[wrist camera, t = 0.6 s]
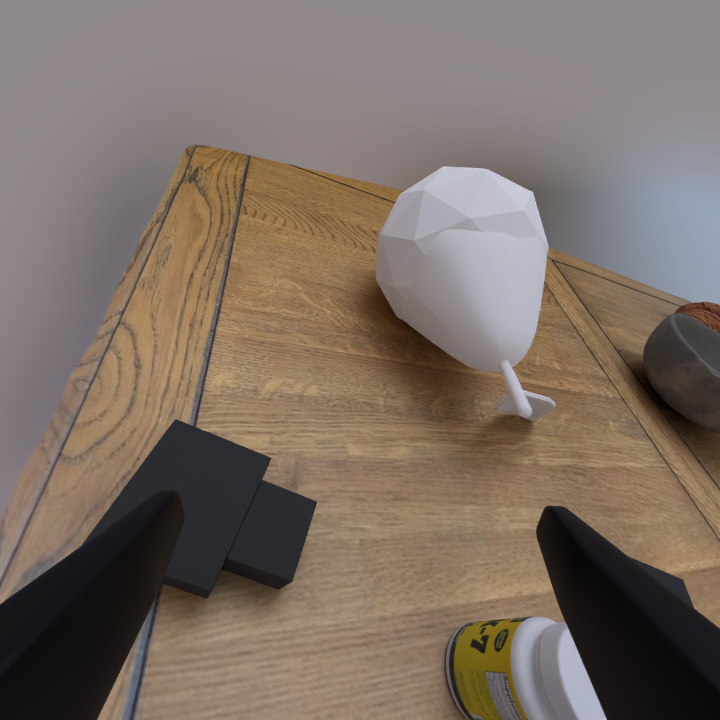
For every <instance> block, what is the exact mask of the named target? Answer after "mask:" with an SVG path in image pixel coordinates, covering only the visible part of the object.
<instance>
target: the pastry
mask: <svg viewBox="0 0 720 720" xmlns="http://www.w3.org/2000/svg"><path fill="white" fill-rule="evenodd" d="M675 313H682V314H686V315H688V316H690V317H692V318H695V319H696V320H698V321H700V322H702V323H703V324H705V325H707V326H708V327H710V328H712V329H713V330H715V331H717V332H718V333H720V305H718V304H714V303H709V302H701V303H690V304H686V305H683V306H681V307H680V308H678V309H677V310H676V312H675Z"/></svg>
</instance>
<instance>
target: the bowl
mask: <svg viewBox="0 0 720 720" xmlns="http://www.w3.org/2000/svg"><path fill="white" fill-rule="evenodd" d="M643 362H644V368H645V371H646V374H647V377H648V379H649V381H650V383H651V385H652V387H653V388H654V390H655V391H656V392H657V394H658V395H659V396H660V397H661V398H662V400H663V401H664V402H665V403H667V404H668V405H669V406H670V407H671V408H673V409H674V410H675V411H677V412H678V413H679V414H681V415H682V416H684V417H686V418H687V419H689V420H691V421H693V422H694V423H696V424H698V425H700V426H702V427H705V428H707V429H709V430H711V431H714V432H716V433H719V434H720V333H718V332H717V331H715V330H713V329H712V328H710V327H708V326H707V325H705V324H703V323H702V322H700V321H698V320H696V319H695V318H692V317H690V316H688V315H686V314H682V313H674V314H672V315H670V316H669V317H668V318H666V319H665V320H664V321H663V322H661V323H660V324H659V325H658V326H657V327H656V328H655V330H654V331H653V332H652V333H651V335H650V337H649V338H648V340H647V342H646V344H645V347H644V352H643Z"/></svg>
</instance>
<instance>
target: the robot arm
mask: <svg viewBox="0 0 720 720" xmlns="http://www.w3.org/2000/svg"><path fill="white" fill-rule="evenodd" d="M184 520H185V512H184V508H183V504H182V500H181V496H180V493H179V492H178V491H176V490H160V491H158V492H156V493H155V494H154V495H152V496H151V497H149V498H148V499H147V500H145V501H144V502H142V503H141V504H140V505H138V506H137V507H135V508H134V509H133V510H131V511H130V512H128V513H127V514H126V515H124V516H123V517H121V518H120V519H119V520H117V521H116V522H114V523H113V524H112V525H110V526H109V527H107V528H106V529H105V530H103V531H102V532H100V533H99V534H98V535H96V536H95V537H93V538H92V539H91V540H89V541H88V542H86V543H85V544H84V545H82V546H81V547H80V548H78V549H77V550H75V551H74V552H73V553H71V554H70V555H68V556H67V557H66V558H64V559H63V560H61V561H60V562H59V563H57V564H56V565H54V566H53V567H52V568H50V569H49V570H47V571H46V572H45V573H43V574H42V575H40V576H39V577H38V578H36V579H35V580H33V581H32V582H31V583H29V584H28V585H26V586H25V587H24V588H22V589H21V590H19V591H18V592H17V593H15V594H14V595H12V596H11V597H10V598H8V599H7V600H5V601H4V602H3V603H1V604H0V720H97V719H98V717H99V714H100V712H101V710H102V708H103V706H104V704H105V702H106V700H107V698H108V696H109V694H110V692H111V689H112V687H113V685H114V683H115V681H116V679H117V677H118V675H119V673H120V671H121V669H122V667H123V664H124V662H125V660H126V658H127V656H128V654H129V652H130V650H131V648H132V646H133V644H134V642H135V639H136V637H137V635H138V633H139V631H140V629H141V627H142V625H143V623H144V621H145V619H146V617H147V615H148V612H149V610H150V608H151V606H152V604H153V602H154V600H155V598H156V595H157V593H158V591H159V588H160V586H161V583H162V581H163V578H164V576H165V573H166V570H167V567H168V565H169V562H170V559H171V557H172V554H173V551H174V548H175V546H176V543H177V540H178V538H179V535H180V532H181V530H182V527H183V524H184ZM536 535H537V540H538V543H539V546H540V549H541V552H542V555H543V559H544V562H545V565H546V568H547V571H548V574H549V577H550V580H551V584H552V587H553V590H554V593H555V596H556V599H557V602H558V605H559V607H560V610H561V612H562V615H563V617H564V620H565V622H566V624H567V627H568V629H569V632H570V634H571V636H572V639H573V641H574V643H575V646H576V648H577V650H578V653H579V655H580V658H581V660H582V662H583V665H584V667H585V669H586V672H587V674H588V677H589V679H590V681H591V684H592V686H593V688H594V691H595V693H596V696H597V698H598V700H599V703H600V705H601V707H602V710H603V712H604V715H605V717H606V719H607V720H720V628H718V627H717V626H716V625H714V624H713V623H712V622H711V621H709V620H708V619H707V618H706V617H704V616H703V615H702V614H700V613H699V612H698V611H697V610H695V609H694V608H693V607H692V606H690V605H689V604H688V603H686V602H685V601H684V600H683V599H681V598H680V597H679V596H678V595H676V594H675V593H674V592H672V591H671V590H670V589H669V588H667V587H666V586H665V585H664V584H662V583H661V582H660V581H658V580H657V579H656V578H655V577H653V576H652V575H651V574H650V573H648V572H647V571H646V570H644V569H643V568H642V567H641V566H639V565H638V564H637V563H636V562H634V561H633V560H632V559H630V558H629V557H628V556H627V555H625V554H624V553H623V552H622V551H620V550H619V549H618V548H616V547H615V546H614V545H613V544H611V543H610V542H609V541H608V540H606V539H605V538H604V537H602V536H601V535H600V534H599V533H597V532H596V531H595V530H594V529H592V528H591V527H590V526H588V525H587V524H586V523H585V522H583V521H582V520H581V519H580V518H578V517H577V516H576V515H574V514H573V513H572V512H571V511H569V510H568V509H567V508H565V507H562V506H546V507H545V508H544V510H543V513H542V515H541V518H540V520H539V523H538V525H537V529H536Z"/></svg>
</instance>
